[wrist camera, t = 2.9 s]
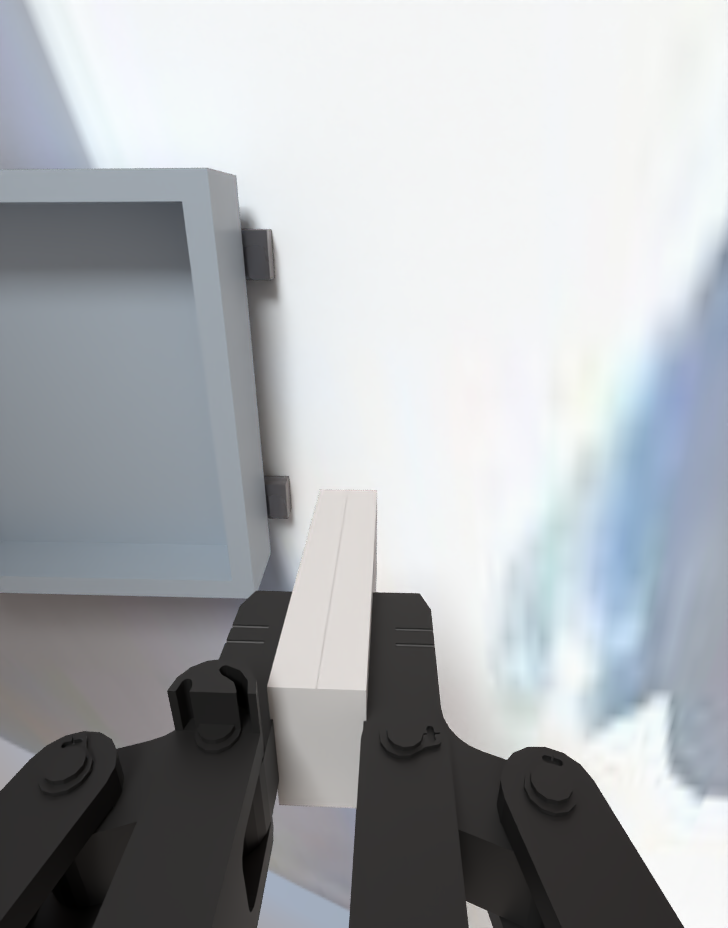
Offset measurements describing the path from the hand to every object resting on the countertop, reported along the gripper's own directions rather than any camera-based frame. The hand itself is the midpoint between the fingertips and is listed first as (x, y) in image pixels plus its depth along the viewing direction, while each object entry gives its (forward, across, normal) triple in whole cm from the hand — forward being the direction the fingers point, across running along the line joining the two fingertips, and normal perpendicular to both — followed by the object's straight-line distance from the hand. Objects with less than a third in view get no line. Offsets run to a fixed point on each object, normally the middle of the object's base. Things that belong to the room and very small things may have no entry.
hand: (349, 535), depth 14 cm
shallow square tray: (+12, -14, 0) cm, 18 cm away
